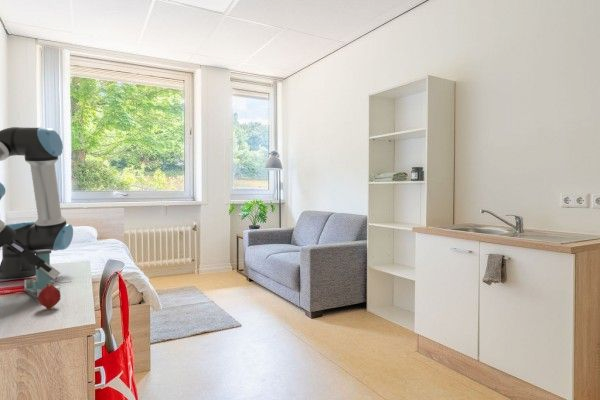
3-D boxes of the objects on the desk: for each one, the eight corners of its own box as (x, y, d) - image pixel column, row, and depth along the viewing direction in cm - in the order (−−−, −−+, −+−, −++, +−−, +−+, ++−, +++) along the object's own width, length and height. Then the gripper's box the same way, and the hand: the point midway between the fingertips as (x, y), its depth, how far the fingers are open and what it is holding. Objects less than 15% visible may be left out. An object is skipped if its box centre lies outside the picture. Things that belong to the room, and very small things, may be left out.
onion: (41, 307, 117) (40, 282, 117) (62, 304, 120) (61, 280, 119) (36, 312, 112) (35, 286, 112) (58, 310, 114) (58, 284, 114)
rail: (24, 290, 137) (24, 278, 137) (43, 287, 142) (43, 276, 141) (39, 302, 122) (39, 289, 122) (60, 298, 127) (60, 286, 126)
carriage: (32, 287, 130) (32, 250, 130) (50, 285, 134) (49, 248, 134) (35, 290, 127) (35, 251, 127) (53, 287, 131) (52, 250, 131)
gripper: (-19, 239, 125) (41, 280, 137) (-11, 244, 113) (53, 287, 126) (1, 222, 128) (57, 263, 141) (11, 225, 117) (71, 269, 130)
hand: (55, 274), depth 133 cm, fingers closed on carriage, 3 cm apart
